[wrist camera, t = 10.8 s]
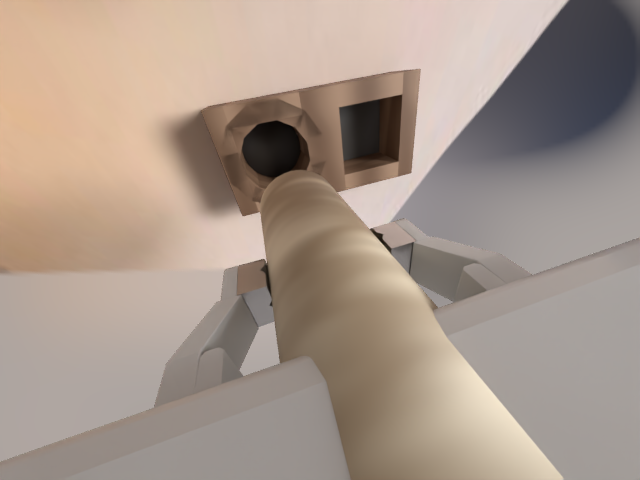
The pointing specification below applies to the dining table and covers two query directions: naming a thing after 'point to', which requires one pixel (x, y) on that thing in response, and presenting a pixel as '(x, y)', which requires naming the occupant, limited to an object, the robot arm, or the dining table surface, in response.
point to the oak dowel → (381, 348)
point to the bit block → (318, 134)
